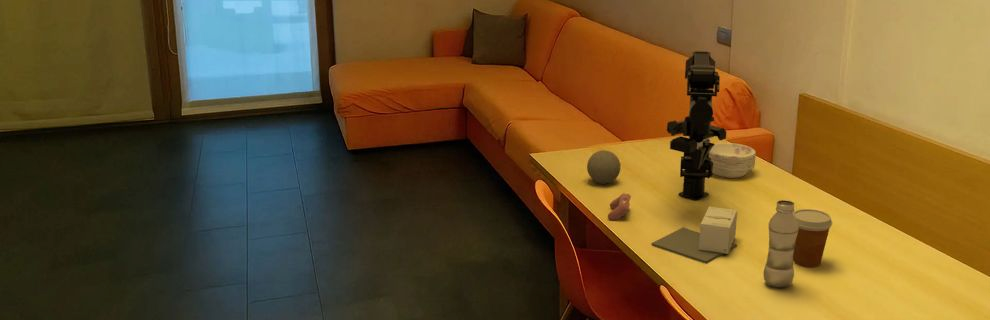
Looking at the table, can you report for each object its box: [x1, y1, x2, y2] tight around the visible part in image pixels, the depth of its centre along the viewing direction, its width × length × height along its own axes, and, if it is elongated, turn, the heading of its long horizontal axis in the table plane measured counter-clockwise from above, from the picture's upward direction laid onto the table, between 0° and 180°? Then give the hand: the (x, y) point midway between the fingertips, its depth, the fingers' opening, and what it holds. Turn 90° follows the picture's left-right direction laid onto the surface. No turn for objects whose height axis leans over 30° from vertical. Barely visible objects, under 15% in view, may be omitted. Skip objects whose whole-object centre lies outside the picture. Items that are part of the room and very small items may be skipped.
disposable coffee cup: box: [793, 208, 833, 268], centre depth 216 cm, size 10×10×12 cm
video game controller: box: [607, 192, 632, 221], centre depth 247 cm, size 10×5×7 cm, turn 169°
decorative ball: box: [586, 149, 621, 185], centre depth 271 cm, size 10×10×10 cm
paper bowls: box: [709, 142, 757, 179], centre depth 278 cm, size 15×15×8 cm
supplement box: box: [699, 206, 738, 255], centre depth 226 cm, size 7×7×13 cm
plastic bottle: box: [763, 199, 799, 288], centre depth 203 cm, size 6×7×20 cm
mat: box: [650, 227, 738, 264], centre depth 227 cm, size 14×16×1 cm
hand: (696, 169), depth 244 cm, fingers closed
